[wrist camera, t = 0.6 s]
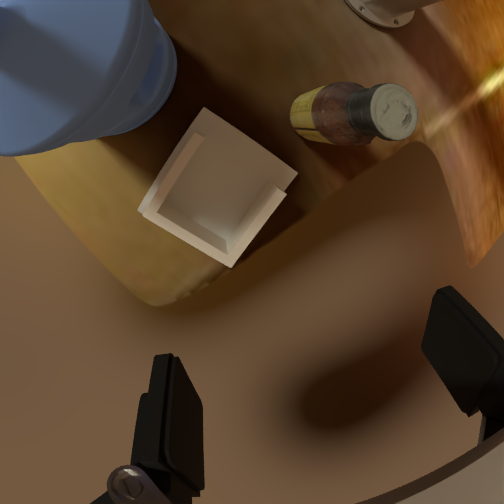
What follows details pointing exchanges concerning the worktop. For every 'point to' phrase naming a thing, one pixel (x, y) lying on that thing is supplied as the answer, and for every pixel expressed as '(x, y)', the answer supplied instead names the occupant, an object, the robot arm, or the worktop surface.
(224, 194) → the end holder
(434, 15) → the worktop surface
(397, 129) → the sauce bottle
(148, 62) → the water jug
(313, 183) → the worktop surface
